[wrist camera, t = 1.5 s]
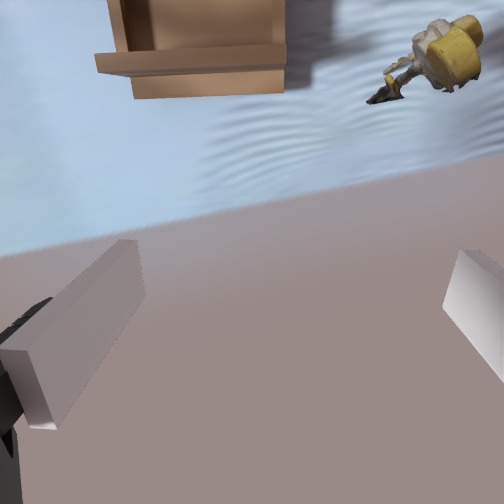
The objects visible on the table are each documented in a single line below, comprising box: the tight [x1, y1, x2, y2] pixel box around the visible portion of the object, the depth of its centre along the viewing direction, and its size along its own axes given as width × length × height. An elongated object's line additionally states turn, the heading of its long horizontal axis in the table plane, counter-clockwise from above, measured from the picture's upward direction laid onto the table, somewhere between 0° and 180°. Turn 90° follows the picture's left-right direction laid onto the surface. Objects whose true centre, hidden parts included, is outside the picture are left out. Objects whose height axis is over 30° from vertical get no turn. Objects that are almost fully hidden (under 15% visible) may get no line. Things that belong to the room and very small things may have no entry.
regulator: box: [366, 15, 483, 105], centre depth 24 cm, size 8×4×15 cm, turn 128°
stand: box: [94, 0, 287, 99], centre depth 26 cm, size 12×14×9 cm
